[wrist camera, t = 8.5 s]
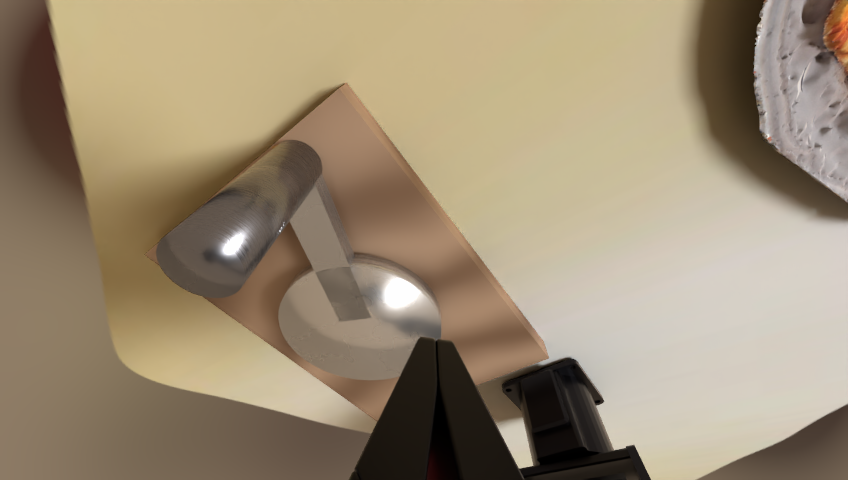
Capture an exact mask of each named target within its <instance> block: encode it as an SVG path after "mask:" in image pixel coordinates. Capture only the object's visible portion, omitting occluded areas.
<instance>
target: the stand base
mask: <svg viewBox="0 0 848 480" xmlns="http://www.w3.org/2000/svg"><path fill="white" fill-rule="evenodd" d="M286 140H298V141H301V142H304V143H306V144H308V145H309V146H311V147H312V148H313V149H314V150H315V151H316V152H317V154H318V155H319V157H320V159H321V162H322V168H323V170H322V175H323V177H324V180H325V182H326V185H327V187H328V190H329V192H330V195H331V197H332V200H333V202H334V205H335V207H336V209H337V212H338V214H339V217H340V219H341V222H342V224H343V227H344V229H345V232H346V234H347V237H348V239H349V242H350V244H351V247H352V249H353V252H354V254H362V255H371V256H376V257H380V258H384V259H387V260H390V261H393V262H396V263H398V264H400V265H402V266H404V267H406V268H408V269H409V270H411V271H413V272H414V273H415V274H417V275H418V276H419V277H421V278H422V279H423V280H424V281H425V282H426V283H427V284H428V286H429V287H430V288H431V289H432V291H433V292H434V294H435V296H436V298H437V300H438V303H439V305H440V310H441V339H444V340H450V341H452V342H453V343H454V344H455V346H456V348H457V350H458V352H459V354H460V356H461V358H462V360H463V362H464V364H465V366H466V368H467V370H468V371H469V373H470V375H471V377H472V379H473V381H474V383H475V385H479V384H482V383H484V382H487V381H490V380H492V379H495V378H498V377H500V376H503V375H506V374H508V373H511V372H514V371H516V370H519V369H522V368H524V367H527V366H530V365H532V364H535V363H538V362H540V361H543V360H546V359H548V358H549V357H548V354H547V350H546V347H545V344H544V342H543V340H542V339H541V338H540V336H539V335H538V334H537V332H536V331H535V330H534V328H533V327H532V326H531V324H530V323H529V322H528V320H527V319H526V318H525V317H524V315H523V314H522V313H521V311H520V310H519V309H518V307H517V306H516V305H515V303H514V302H513V301H512V299H511V298H510V297H509V296H508V294H507V293H506V292H505V290H504V289H503V288H502V286H501V285H500V284H499V282H498V281H497V280H496V278H495V277H494V276H493V274H492V273H491V272H490V271H489V269H488V268H487V267H486V265H485V264H484V263H483V261H482V260H481V259H480V257H479V256H478V255H477V253H476V252H475V251H474V250H473V248H472V247H471V246H470V244H469V243H468V242H467V240H466V239H465V238H464V236H463V235H462V234H461V232H460V231H459V230H458V228H457V227H456V226H455V225H454V223H453V222H452V221H451V219H450V218H449V217H448V215H447V214H446V213H445V211H444V210H443V209H442V207H441V206H440V205H439V203H438V202H437V201H436V200H435V198H434V197H433V196H432V194H431V193H430V192H429V190H428V189H427V188H426V186H425V185H424V184H423V182H422V181H421V180H420V179H419V177H418V176H417V175H416V173H415V172H414V171H413V169H412V168H411V167H410V165H409V164H408V163H407V161H406V160H405V159H404V157H403V156H402V155H401V154H400V152H399V151H398V150H397V148H396V147H395V146H394V144H393V143H392V142H391V140H390V139H389V138H388V136H387V135H386V134H385V133H384V131H383V130H382V129H381V127H380V126H379V125H378V123H377V122H376V121H375V119H374V118H373V117H372V115H371V114H370V113H369V111H368V110H367V109H366V108H365V106H364V105H363V104H362V102H361V101H360V100H359V98H358V97H357V96H356V94H355V93H354V92H353V90H352V89H351V88H350V87H349V85H348V84H347V83H345V84H344V85H343V86H341V87H340V88H339V89H337V90H336V91H335V92H334V93H333V94H332V95H330V96H329V97H328V98H327V99H326V100H325V101H323V102H322V103H321V104H320V105H319V106H318V107H316V108H315V109H314V110H313V111H312V112H310V113H309V114H308V115H307V116H306V117H305V118H303V119H302V120H301V121H300V122H299V123H298V124H296V125H295V126H294V127H293V128H292V129H291V130H289V131H288V132H287V133H286V134H285V135H284V136H282V137H281V138H280V139H279V140H278V141H277V142H275V143H274V144H273V145H272V146H271V147H270V148H268V149H267V150H266V151H265V152H264V153H262V154H261V155H260V156H259V157H258V158H257V159H255V160H254V161H253V162H252V163H251V164H250V165H248V166H247V167H246V168H245V169H244V170H243V171H241V172H240V173H239V174H238V175H237V176H236V177H234V178H233V179H232V180H231V181H230V182H229V183H227V184H226V185H225V186H224V187H223V188H222V189H224V188H225V187H226V186H227V185H229V184H230V183H231V182H232V181H234V180H235V179H236V178H237V177H239V176H240V175H241V174H242V173H244V172H245V171H246V170H247V169H249V168H250V167H251V166H252V165H253V164H255V163H256V162H257V161H258V160H260V159H261V158H262V157H263V156H265V155H266V154H267V153H268V152H270V151H271V150H272V149H273V148H275V147H276V146H277V145H278V144H280V143H281V142H283V141H286ZM222 189H220V190H219V191H218V192H217V193H216V194H218V193H219V192H220V191H221V190H222ZM216 194H214V195H213V196H212V197H211V198H213V197H214V196H215V195H216ZM211 198H210V199H211ZM210 199H209V200H210ZM209 200H207V201H206V202H208V201H209ZM206 202H205V203H206ZM205 203H204V204H205ZM204 204H203V205H204ZM203 205H202V206H203ZM200 207H201V206H200ZM200 207H199V208H200ZM199 208H198V209H199ZM198 209H197V210H198ZM193 213H194V212H193ZM193 213H192V214H193ZM158 243H159V242H158ZM158 243H157V244H156V245H155V246H154V247H152V248H151V249H150V250H149V251H148V252H147V253H145V254H144V255H145V256H147V257H148V258H150V259H151V260H152V261H154V262H155V263H157V264H158V265H159V263H158V260H157V256H156V249H157V245H158ZM309 265H311V263H310V261H309V259H308V257H307V255H306V253H305V251H304V249H303V247H302V245H301V243H300V241H299V239H298V237H297V235H296V233H295V231H294V229H293V227H292V225H291V223H290V221H289V222H288V224H287V225H286V227H285V228H284V229H283V231H282V232H281V234H280V235H279V236H278V238H277V239H276V240H275V242H274V243H273V245H272V246H271V247H270V249H269V250H268V252H267V253H266V254H265V256H264V257H263V259H262V260H261V261H260V263H259V264H258V265H257V267H256V268H255V270H254V271H253V272H252V274H251V275H250V277H249V278H248V279H247V281H246V282H245V284H244V285H243V286H242V288H241V289H240V290H239V291H238V292H237V293H235V294H233V295H231V296H228V297H224V298H209V297H204V298H206V299H207V300H208V301H210V302H211V303H213V304H214V305H215V306H217V307H218V308H220V309H221V310H222V311H224V312H225V313H227V314H228V315H229V316H231V317H232V318H234V319H235V320H236V321H238V322H239V323H241V324H242V325H243V326H245V327H246V328H248V329H249V330H250V331H252V332H253V333H255V334H256V335H257V336H259V337H260V338H262V339H263V340H264V341H266V342H267V343H269V344H270V345H271V346H273V347H274V348H276V349H277V350H278V351H280V352H281V353H282V354H284V355H285V356H287V357H288V358H289V359H291V360H292V361H294V362H295V363H296V364H298V365H299V366H301V367H302V368H303V369H305V370H306V371H308V372H309V373H310V374H312V375H313V376H315V377H316V378H317V379H319V380H320V381H322V382H323V383H324V384H326V385H327V386H329V387H330V388H331V389H333V390H334V391H336V392H337V393H338V394H340V395H341V396H343V397H344V398H345V399H347V400H348V401H350V402H351V403H352V404H354V405H355V406H357V407H358V408H359V409H361V410H362V411H364V412H365V413H366V414H368V415H369V416H371V417H372V418H373V419H375V420H376V421H378V420H379V418H380V416H381V413H382V411H383V409H384V407H385V405H386V403H387V401H388V399H389V397H390V395H391V393H392V391H393V389H394V387H395V385H396V383H397V381H398V379H399V377H400V376H399V377H395V378H391V379H384V380H358V379H351V378H345V377H342V376H338V375H335V374H332V373H329V372H326V371H324V370H322V369H319V368H317V367H316V366H314V365H312V364H310V363H309V362H307V361H306V360H304V359H303V358H302V357H301V356H299V355H298V354H297V353H296V352H295V351H294V350H293V349H292V348H291V347H290V345H289V344H288V343H287V341H286V340H285V338H284V336H283V334H282V332H281V329H280V326H279V320H278V312H279V307H280V303H281V301H282V299H283V297H284V295H285V293H286V291H287V289H288V288H289V286H290V284H291V282H292V281H293V279H294V278H295V277H296V276H297V275H298V274H299V273H300V272H301V271H302V270H303V269H305V268H306V267H307V266H309ZM159 266H160V265H159Z"/></svg>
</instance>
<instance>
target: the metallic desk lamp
mask: <svg viewBox="0 0 848 480" xmlns="http://www.w3.org/2000/svg"><path fill="white" fill-rule="evenodd" d="M322 170H323V168H322V162H321V159H320V157H319V155H318V154H317V152H316V151H315V150H314V149H313V148H312V147H311V146H309V145H308V144H306V143H304V142H301V141H298V140H286V141H283V142H281V143H280V144H278V145H277V146H276V147H275V148H273V149H272V150H271V151H270V152H268V153H267V154H266V155H265V156H263V157H262V158H261V159H260V160H258V161H257V162H256V163H255V164H253V165H252V166H251V167H250V168H249V169H247V170H246V171H245V172H244V173H242V174H241V175H240V176H239V177H237V178H236V179H235V180H234V181H232V182H231V183H230V184H229V185H227V186H226V187H225V188H224V189H222V190H221V191H220V192H219V193H218V194H216V195H215V196H214V197H213V198H211V199H210V200H209V201H208V202H206V203H205V204H204V205H203V206H201V207H200V208H199V209H198V210H196V211H195V212H194V213H193V214H191V215H190V216H189V217H188V218H186V219H185V220H184V221H183V222H182V223H180V224H179V225H178V226H177V227H175V228H174V229H173V230H172V231H170V232H169V233H168V234H167V235H165V236H164V237H163V238H162V239H161V240H160V241H159V243H158V245H157V249H156V256H157V260H158V263H159V265H160V267H161V269H162V270H163V271H164V273H165V274H166V275H167V276H168V277H169V278H170V279H171V280H172V281H173V282H174V283H176V284H177V285H179V286H180V287H182V288H183V289H185V290H187V291H189V292H191V293H194V294H197V295H200V296H203V297H209V298H224V297H228V296H231V295H233V294H235V293H237V292H238V291H239V290H240V289H241V288H242V286H243V285H244V284H245V282H246V281H247V279H248V278H249V277H250V275H251V274H252V272H253V271H254V270H255V268H256V267H257V265H258V264H259V263H260V261H261V260H262V259H263V257H264V256H265V254H266V253H267V252H268V250H269V249H270V247H271V246H272V245H273V243H274V242H275V240H276V239H277V238H278V236H279V235H280V234H281V232H282V231H283V229H284V228H285V227H286V225H287V224H288V222H289V221H290V223H291V225H292V227H293V229H294V231H295V233H296V235H297V237H298V239H299V241H300V243H301V245H302V247H303V249H304V251H305V253H306V255H307V257H308V259H309V261H310V263H311V265H309V266H307V267H306V268H305V269H303V270H302V271H301V272H300V273H299V274H298V275H297V276H296V277H295V278H294V279H293V281H292V282H291V284H290V286H289V288H288V289H287V291H286V293H285V295H284V297H283V299H282V301H281V303H280V307H279V312H278V320H279V326H280V329H281V332H282V334H283V336H284V338H285V340H286V341H287V343H288V344H289V345H290V347H291V348H292V349H293V350H294V351H295V352H296V353H297V354H298V355H299V356H301V357H302V358H303V359H304V360H306V361H307V362H309V363H310V364H312V365H314V366H316V367H317V368H319V369H322V370H324V371H326V372H329V373H332V374H335V375H338V376H342V377H345V378H351V379H358V380H384V379H391V378H395V377H399V376H400V375H401V373H402V371H403V369H404V367H405V365H406V362H407V360H408V358H409V356H410V354H411V352H412V350H413V348H414V346H415V344H416V342H417V340H418V338H419V337H429V338H434V339H435V341H436V340H437V339H441V310H440V305H439V303H438V300H437V298H436V296H435V294H434V292H433V291H432V289H431V288H430V287H429V286H428V284H427V283H426V282H425V281H424V280H423V279H422V278H421V277H419V276H418V275H417V274H415V273H414V272H413V271H411V270H409V269H408V268H406V267H404V266H402V265H400V264H398V263H396V262H393V261H390V260H387V259H384V258H380V257H376V256H371V255H362V254H354V252H353V249H352V247H351V244H350V242H349V239H348V237H347V234H346V232H345V229H344V227H343V224H342V222H341V219H340V217H339V214H338V212H337V209H336V207H335V205H334V202H333V200H332V197H331V195H330V192H329V190H328V187H327V185H326V182H325V180H324V177H323V175H322Z"/></svg>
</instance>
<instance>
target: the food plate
mask: <svg viewBox="0 0 848 480" xmlns="http://www.w3.org/2000/svg"><path fill="white" fill-rule="evenodd" d="M763 3H764V5H763V6H764V8H762V9H761V11H760V15H759V17H760V18H761V22H760V23H759V24H758V26H757V32H756V33H757V34H758V37H757V38H755V39H756V41H757V42H756V43H755V45H757V46H756V47H755V53H754V54H756V55H755V57H754V58H755V61H754V62H753V65H755V66H754V70H753V74H755V75H754V76H757V77H755V78H754V79H755V82H754V84H753V85H754V88H755V96H756V101H757V102H756V104H757V107H758V110H759V116H760V117H759V119H760V120H759V121H760V127H759V129H760V133H764V134H763V135H762V136H763V138H766V140H768V142H769V143H770V144H771V143H774V144H772V145H775V147H776V148H778V150H776V149H775V148H774V147H773V148H774V149H775V150H776V151H777V152H778V153H780V154H781V155H783V156H784V157H785V158H787V159H788V160H789V161H791V162H792V163H794V164H796V165H797V166H799V167H800V168H801V169H802V170H804V171H806V172H807V173H808V174H809V175H810V176H811V177H813V178H814V179H815V180H816V181H818V182H819V183H821V184H822V185H824V186H825V187H826V188H827V189H829V190H831V191H832V192H833V193H835V194H836V195H838V196H839V197H840V198H842V199H843V200H845V201H846V202H847V203H848V0H765V1H764V2H763ZM763 141H765V140H763ZM766 143H767V142H766ZM770 144H769V145H770ZM770 146H771V145H770ZM771 147H772V146H771ZM780 150H781V151H780Z"/></svg>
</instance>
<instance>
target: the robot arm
mask: <svg viewBox="0 0 848 480" xmlns="http://www.w3.org/2000/svg"><path fill="white" fill-rule="evenodd" d="M502 390H503V392H504V393H505V394H506V395H507V396H508V397H509V398H510V399H511V401H512V402H513V403H514V404H515V405H516V406H517V407H518V408H519V409H520V410H521V411H522V415H523V420H524V424H525V429H526V433H527V438H528V443H529V447H530V452H531V456H532V461H533V466H531V467H526V468H521V469H519V468H518V466H517V464H516V462H515V460H514V459H513V457H512V455H511V453H510V451H509V449H508V447H507V445H506V443H505V441H504V439H503V437H502V435H501V433H500V431H499V429H498V428H497V426H496V424H495V422H494V420H493V418H492V416H491V414H490V412H489V410H488V408H487V406H486V404H485V402H484V400H483V399H482V397H481V395H480V393H479V391H478V389H477V387H476V385H475V383H474V381H473V379H472V377H471V375H470V373H469V371H468V370H467V368H466V366H465V364H464V362H463V360H462V358H461V356H460V354H459V352H458V350H457V348H456V346H455V344H454V343H453V342H452V341H450V340H444V339H437V340H436V341H435V339H434V338H429V337H419V338H418V340H417V342H416V344H415V346H414V348H413V350H412V352H411V354H410V356H409V358H408V360H407V362H406V365H405V367H404V369H403V371H402V373H401V375H400V377H399V379H398V381H397V383H396V385H395V387H394V389H393V391H392V393H391V395H390V397H389V399H388V401H387V403H386V405H385V407H384V409H383V411H382V413H381V416H380V418H379V420H378V422H377V424H376V426H375V428H374V430H373V432H372V434H371V436H370V438H369V440H368V442H367V444H366V446H365V448H364V451H363V452H362V454H361V456H360V459H359V461H358V462H357V465H356V467H355V471H354V472H353V473H352V474H351V476H350V479H349V480H651V479H650V477H649V475H648V473H647V471H646V469H645V466H644V464H643V462H642V460H641V458H640V456H639V454H638V452H637V450H636V448H635V446H634V445H631V446H626V448H624V449H619V450H614V449H613V447H612V444H611V442H610V439H609V437H608V434H607V432H606V430H605V427H604V425H603V422H602V420H601V417H600V415H599V413H598V410H597V408H596V405H600V404H602V403H603V402H604V400H603V398H602V395H601V394H600V393H599V391H598V390H597V388H596V387H595V386H594V384H593V383H592V381H591V380H590V379H589V377H588V376H587V374H586V373H585V372H584V370H583V369H582V367H581V366H580V365H579V363H578V362H577V361H576V360H574V359H569V360H566V361H563V362H561V363H558V364H555V365H552V366H550V367H547V368H544V369H542V370H539V371H536V372H533V373H531V374H528V375H525V376H522V377H520V378H517V379H514V380H511V381H509V382H506V383H504V384H503V385H502Z"/></svg>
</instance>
